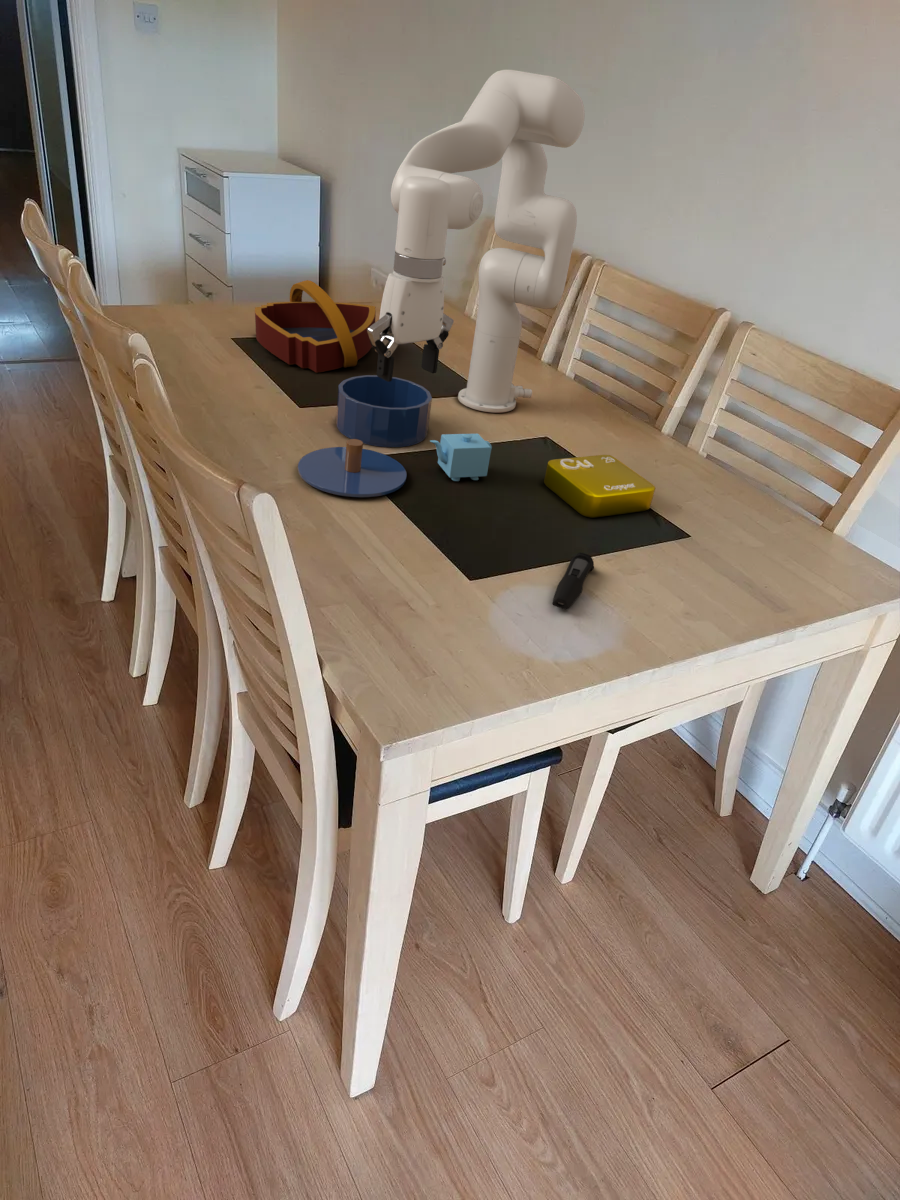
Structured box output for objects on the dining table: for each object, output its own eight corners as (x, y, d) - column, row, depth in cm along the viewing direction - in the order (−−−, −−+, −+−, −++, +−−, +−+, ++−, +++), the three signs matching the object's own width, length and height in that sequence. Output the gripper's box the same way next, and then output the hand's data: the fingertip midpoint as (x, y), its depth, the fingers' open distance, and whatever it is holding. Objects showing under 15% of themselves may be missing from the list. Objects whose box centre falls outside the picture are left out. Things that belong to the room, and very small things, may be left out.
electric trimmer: (543, 612, 122) (547, 593, 120) (570, 562, 134) (575, 545, 132) (569, 620, 121) (573, 601, 119) (594, 569, 133) (599, 552, 131)
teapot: (431, 483, 151) (436, 443, 147) (419, 468, 156) (424, 429, 152) (493, 480, 156) (500, 441, 151) (480, 465, 160) (486, 427, 156)
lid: (378, 448, 160) (381, 417, 157) (424, 493, 148) (428, 460, 144) (281, 458, 152) (282, 424, 148) (322, 506, 139) (324, 471, 135)
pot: (402, 408, 179) (405, 373, 175) (443, 443, 167) (448, 406, 163) (322, 414, 171) (324, 377, 167) (359, 451, 158) (362, 412, 154)
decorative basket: (242, 334, 212) (233, 271, 203) (354, 317, 222) (350, 256, 213) (280, 386, 188) (272, 318, 179) (405, 364, 198) (402, 298, 188)
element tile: (585, 519, 147) (592, 494, 144) (539, 481, 158) (544, 457, 155) (654, 510, 154) (661, 486, 151) (605, 474, 164) (610, 450, 162)
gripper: (442, 257, 141) (430, 360, 150) (358, 263, 130) (350, 374, 139) (474, 269, 136) (460, 375, 146) (390, 276, 126) (380, 390, 135)
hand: (406, 374), depth 142 cm, fingers open, 9 cm apart
